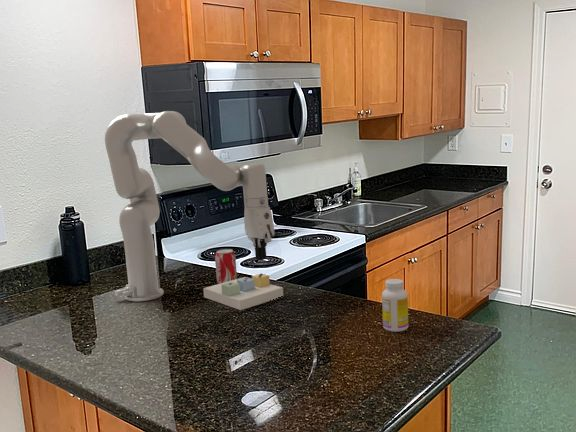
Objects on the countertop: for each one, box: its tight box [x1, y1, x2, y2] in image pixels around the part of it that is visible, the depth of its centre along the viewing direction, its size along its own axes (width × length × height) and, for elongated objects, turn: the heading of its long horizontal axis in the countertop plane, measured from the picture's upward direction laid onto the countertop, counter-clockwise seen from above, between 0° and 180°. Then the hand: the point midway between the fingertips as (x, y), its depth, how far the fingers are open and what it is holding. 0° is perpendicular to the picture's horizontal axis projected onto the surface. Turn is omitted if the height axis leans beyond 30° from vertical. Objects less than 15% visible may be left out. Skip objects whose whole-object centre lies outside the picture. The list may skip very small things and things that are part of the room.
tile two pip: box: [237, 277, 255, 292], centre depth 187 cm, size 4×4×4 cm
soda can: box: [214, 248, 238, 284], centre depth 204 cm, size 7×7×12 cm
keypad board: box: [203, 276, 284, 311], centre depth 189 cm, size 17×20×3 cm
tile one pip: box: [221, 282, 240, 297], centre depth 184 cm, size 4×4×4 cm
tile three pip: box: [251, 273, 271, 288], centre depth 191 cm, size 4×4×4 cm
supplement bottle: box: [381, 278, 409, 333], centre depth 154 cm, size 7×7×13 cm
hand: (261, 258), depth 190 cm, fingers closed
